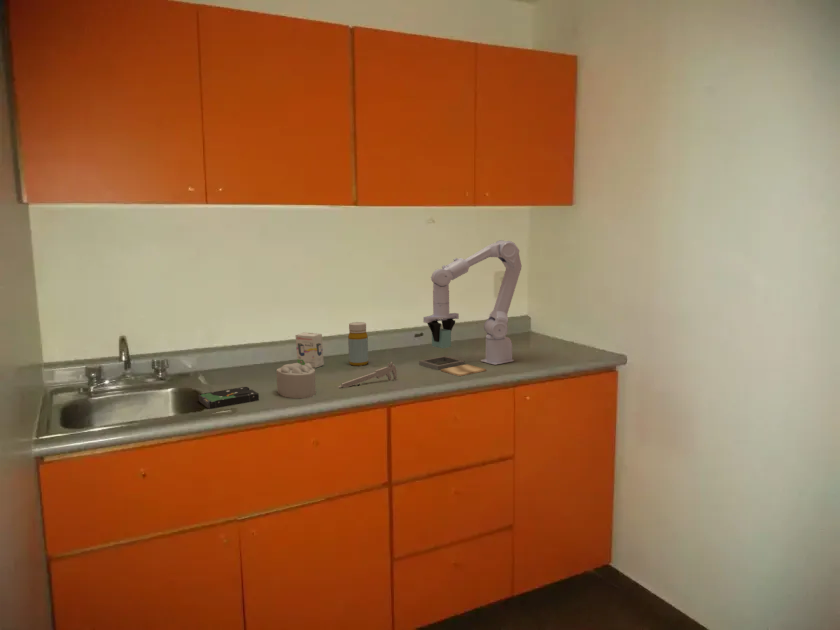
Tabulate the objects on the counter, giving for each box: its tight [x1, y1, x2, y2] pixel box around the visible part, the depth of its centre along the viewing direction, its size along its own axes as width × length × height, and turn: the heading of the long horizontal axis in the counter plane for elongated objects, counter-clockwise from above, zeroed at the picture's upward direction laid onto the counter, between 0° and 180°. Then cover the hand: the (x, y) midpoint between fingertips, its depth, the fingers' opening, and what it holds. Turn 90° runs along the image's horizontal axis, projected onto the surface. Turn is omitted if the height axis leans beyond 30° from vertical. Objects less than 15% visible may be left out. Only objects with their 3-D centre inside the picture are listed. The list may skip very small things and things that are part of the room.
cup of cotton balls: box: [276, 362, 317, 399], centre depth 197 cm, size 10×13×9 cm
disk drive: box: [198, 386, 260, 410], centre depth 190 cm, size 10×3×15 cm
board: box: [440, 363, 487, 377], centre depth 222 cm, size 12×10×1 cm
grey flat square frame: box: [418, 355, 465, 371], centre depth 232 cm, size 12×11×2 cm
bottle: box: [347, 321, 369, 367], centre depth 234 cm, size 7×7×15 cm
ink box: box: [295, 331, 324, 369], centre depth 233 cm, size 9×5×12 cm, turn 64°
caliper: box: [337, 361, 398, 389], centre depth 207 cm, size 20×1×6 cm, turn 120°
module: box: [431, 327, 452, 349], centre depth 230 cm, size 4×6×6 cm, turn 37°
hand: (441, 340), depth 231 cm, fingers closed on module, 4 cm apart
